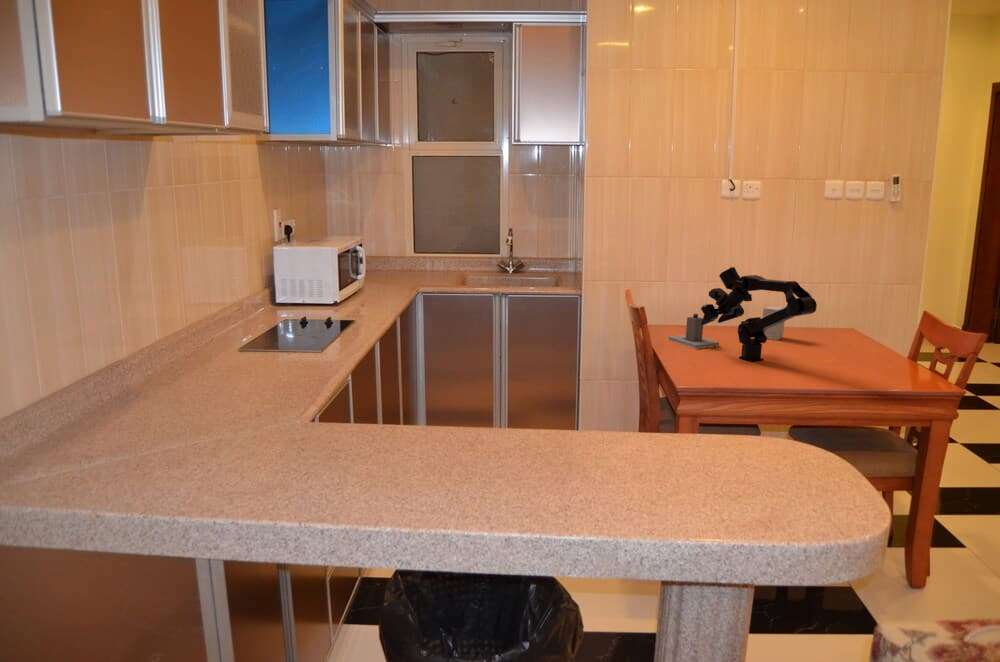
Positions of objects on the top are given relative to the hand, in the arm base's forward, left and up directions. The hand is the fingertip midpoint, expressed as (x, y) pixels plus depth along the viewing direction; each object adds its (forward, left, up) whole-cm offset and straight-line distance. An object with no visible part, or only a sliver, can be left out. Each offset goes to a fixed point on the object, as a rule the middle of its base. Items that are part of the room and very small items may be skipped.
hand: (710, 323), depth 304 cm
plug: (+8, +1, -9) cm, 12 cm away
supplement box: (+3, -37, -10) cm, 39 cm away
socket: (+8, +1, -10) cm, 12 cm away
